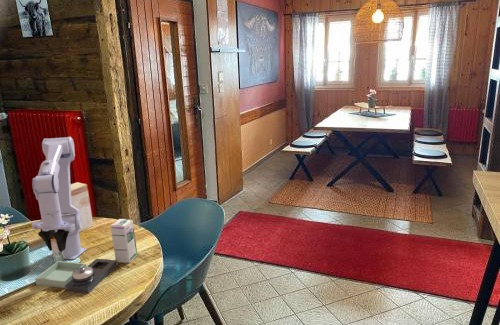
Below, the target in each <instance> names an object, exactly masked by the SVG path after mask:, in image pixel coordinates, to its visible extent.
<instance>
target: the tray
mask: <svg viewBox="0 0 500 325" xmlns="http://www.w3.org/2000/svg"><path fill="white" fill-rule="evenodd" d="M81 267H87V264H86V263H83V262H74V261H73V262H71V261H63V260H62V261H58V262H54V263H53V264H52V265H51V266H50V267H48V268H46V270H44V271H43V272H41V273H40V274H39V275H37V276H36V277H35V278H34V281H35V285H36V286H42V287H50V288H51V287H52V288H61V289H65V285H66V284H67V283H68V282H70V281H71V280H72V273H73V271H75V270H76V269H78V268H81Z"/></svg>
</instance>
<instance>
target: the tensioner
mask: <svg viewBox="0 0 500 325" xmlns="http://www.w3.org/2000/svg"><path fill="white" fill-rule="evenodd" d="M116 267H118V262H117V260H116V259H105V258H95V259H94V260H93V261H92V262H90V263H89V264H88V265H86V267H81V268H78V269H76V270H75V271H73V273H72V280H71V281H70V282H68V283H67V284H66V285H65V288H64V290H65V292H67V293H80V294H90V293H91V292H92V291H93V290H94V289H95V288H96V287H97V286H98V285H99V284H100V283H101V282H102V281H103V280H104V279H105V278H106V277H107V276H108V275H109V274H110V273H111V272H112V271H113V270H114V269H115V268H116Z"/></svg>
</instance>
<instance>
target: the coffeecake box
mask: <svg viewBox="0 0 500 325" xmlns="http://www.w3.org/2000/svg"><path fill="white" fill-rule="evenodd" d="M71 200H72V206H74V207H76V208H77V209H79V211H80V214H81V219H82V228H81V229H80V230H79V233H81V232H83V231H86V230H88V229H91V228H93V227H94V221H93V220H94V219H93V215H92V214H93V213H92V208H91V202H90V196H89V188H88V184H87V183H83V182H82V183H81V182H78V181H77V182H74V183H71ZM72 214H74V213H72ZM64 215H71V214H64ZM61 216H63V215H61Z"/></svg>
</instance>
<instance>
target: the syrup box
mask: <svg viewBox="0 0 500 325" xmlns="http://www.w3.org/2000/svg"><path fill="white" fill-rule="evenodd" d="M110 233H111V239H112V246H113V250H114V251H113V252H114V257H115V259H114V260H117V263H122V264H131V263H132V261H133V260H135V258H136V257H137V256H138V249H137V242H136V241H137V240H136V234H135V228H134V221H133V219H129V218H119V219H118V220H116V221H114V222H113V223H112V224H111V225H110Z"/></svg>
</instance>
